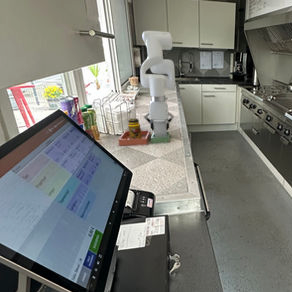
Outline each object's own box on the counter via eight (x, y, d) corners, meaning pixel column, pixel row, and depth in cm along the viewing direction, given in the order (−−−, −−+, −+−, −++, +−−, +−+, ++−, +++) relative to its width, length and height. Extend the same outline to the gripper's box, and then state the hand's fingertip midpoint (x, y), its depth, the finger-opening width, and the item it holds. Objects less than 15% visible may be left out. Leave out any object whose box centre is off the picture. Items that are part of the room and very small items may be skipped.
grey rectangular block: (167, 138, 138) (165, 122, 134) (155, 139, 136) (153, 123, 132) (166, 136, 141) (165, 120, 138) (154, 137, 139) (152, 121, 135)
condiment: (137, 142, 133) (134, 121, 128) (124, 140, 135) (121, 120, 130) (145, 138, 139) (142, 118, 134) (133, 136, 141) (130, 116, 137)
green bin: (153, 137, 143) (153, 131, 142) (169, 137, 145) (169, 131, 144) (151, 143, 133) (151, 137, 132) (168, 143, 135) (168, 137, 133)
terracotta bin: (126, 136, 143) (125, 130, 142) (150, 135, 146) (150, 130, 145) (119, 145, 128) (118, 139, 127) (146, 144, 131) (146, 138, 130)
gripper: (174, 98, 136) (175, 127, 142) (142, 97, 132) (145, 128, 138) (173, 100, 129) (175, 131, 135) (140, 100, 125) (143, 132, 132)
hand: (160, 129), depth 137 cm, fingers closed on grey rectangular block, 7 cm apart
